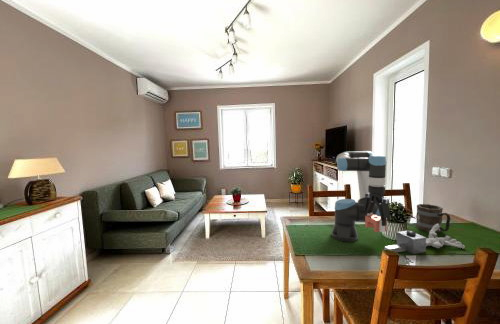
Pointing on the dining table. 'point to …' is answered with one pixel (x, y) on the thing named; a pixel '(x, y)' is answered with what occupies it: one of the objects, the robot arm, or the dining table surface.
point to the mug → (430, 217)
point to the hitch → (408, 242)
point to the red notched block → (373, 222)
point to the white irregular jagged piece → (441, 239)
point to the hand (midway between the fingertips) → (375, 228)
